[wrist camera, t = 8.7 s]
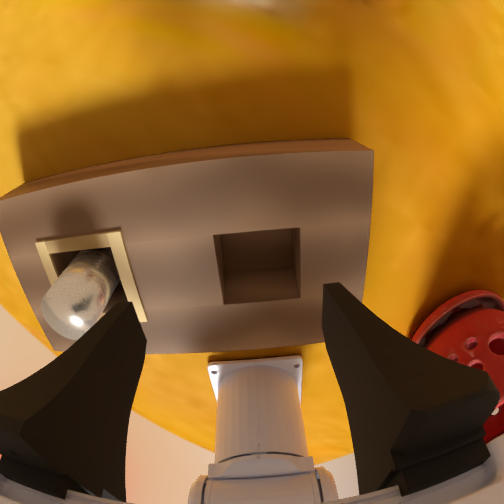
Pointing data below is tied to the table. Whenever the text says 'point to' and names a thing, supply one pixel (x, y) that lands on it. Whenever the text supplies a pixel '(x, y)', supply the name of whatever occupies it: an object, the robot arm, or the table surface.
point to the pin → (81, 293)
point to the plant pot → (471, 340)
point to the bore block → (205, 239)
